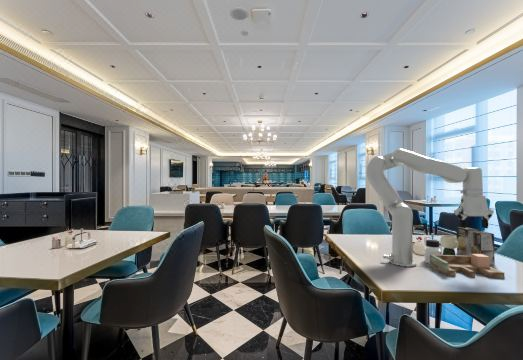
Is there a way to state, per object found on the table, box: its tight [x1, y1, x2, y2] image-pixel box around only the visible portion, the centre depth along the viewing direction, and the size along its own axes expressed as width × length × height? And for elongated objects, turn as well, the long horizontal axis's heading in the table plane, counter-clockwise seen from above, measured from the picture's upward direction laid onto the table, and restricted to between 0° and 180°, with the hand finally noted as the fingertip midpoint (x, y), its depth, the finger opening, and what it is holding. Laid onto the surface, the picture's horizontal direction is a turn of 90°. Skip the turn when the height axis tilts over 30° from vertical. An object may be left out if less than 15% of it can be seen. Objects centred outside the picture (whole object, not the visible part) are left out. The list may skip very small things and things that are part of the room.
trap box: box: [429, 254, 505, 279], centre depth 122 cm, size 24×14×6 cm, turn 82°
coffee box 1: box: [456, 226, 479, 256], centre depth 152 cm, size 9×6×16 cm
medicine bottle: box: [424, 239, 442, 264], centre depth 138 cm, size 7×7×12 cm
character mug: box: [439, 234, 458, 255], centre depth 143 cm, size 11×7×13 cm, turn 10°
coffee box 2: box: [471, 230, 496, 266], centre depth 138 cm, size 9×6×16 cm
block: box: [471, 254, 491, 267], centre depth 124 cm, size 5×5×5 cm
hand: (474, 227), depth 124 cm, fingers open, 9 cm apart
